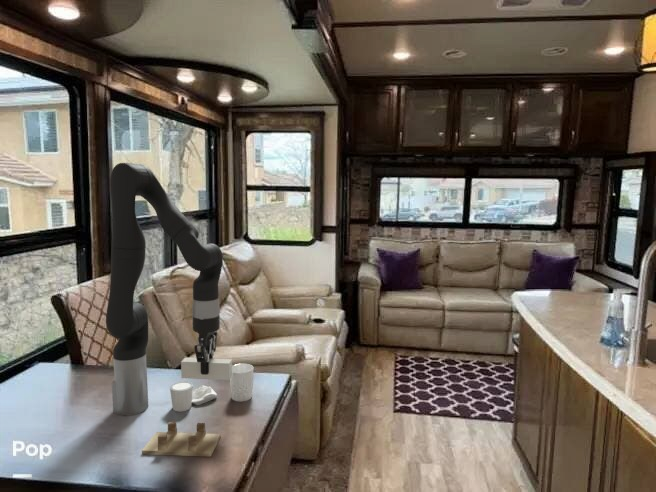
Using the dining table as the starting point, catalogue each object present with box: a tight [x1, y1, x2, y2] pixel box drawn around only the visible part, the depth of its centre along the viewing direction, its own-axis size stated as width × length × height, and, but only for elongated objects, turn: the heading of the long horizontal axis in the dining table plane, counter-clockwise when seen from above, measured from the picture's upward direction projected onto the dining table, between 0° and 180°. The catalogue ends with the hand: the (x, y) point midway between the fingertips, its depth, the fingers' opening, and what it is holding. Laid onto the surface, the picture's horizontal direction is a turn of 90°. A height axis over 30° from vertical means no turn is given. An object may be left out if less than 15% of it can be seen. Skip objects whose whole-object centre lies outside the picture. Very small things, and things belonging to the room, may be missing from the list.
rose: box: [192, 384, 218, 406], centre depth 148 cm, size 10×4×10 cm
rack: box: [141, 421, 222, 457], centre depth 121 cm, size 18×9×4 cm, turn 87°
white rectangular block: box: [180, 357, 233, 381], centre depth 132 cm, size 14×3×5 cm, turn 87°
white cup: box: [229, 363, 255, 403], centre depth 149 cm, size 8×8×10 cm
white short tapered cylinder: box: [169, 381, 194, 412], centre depth 142 cm, size 7×7×7 cm
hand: (206, 371), depth 132 cm, fingers closed on white rectangular block, 3 cm apart
